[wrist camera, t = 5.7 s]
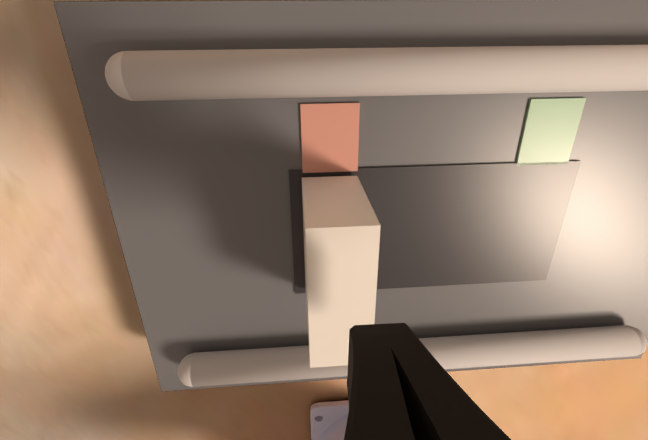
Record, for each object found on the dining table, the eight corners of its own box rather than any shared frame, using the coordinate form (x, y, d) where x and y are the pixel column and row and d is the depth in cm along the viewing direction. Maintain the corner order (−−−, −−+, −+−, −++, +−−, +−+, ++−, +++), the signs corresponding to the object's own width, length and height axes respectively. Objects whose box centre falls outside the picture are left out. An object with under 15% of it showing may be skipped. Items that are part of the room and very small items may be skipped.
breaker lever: (353, 289, 16) (371, 363, 12) (305, 292, 16) (309, 367, 12) (357, 175, 14) (380, 225, 10) (301, 177, 14) (305, 228, 10)
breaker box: (598, 319, 22) (642, 359, 19) (178, 345, 21) (161, 393, 18) (720, 5, 15) (816, -2, 12) (100, 8, 14) (51, 1, 11)
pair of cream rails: (625, 340, 19) (649, 362, 18) (185, 369, 17) (177, 395, 16) (757, 42, 13) (806, 43, 12) (111, 50, 12) (90, 52, 10)
